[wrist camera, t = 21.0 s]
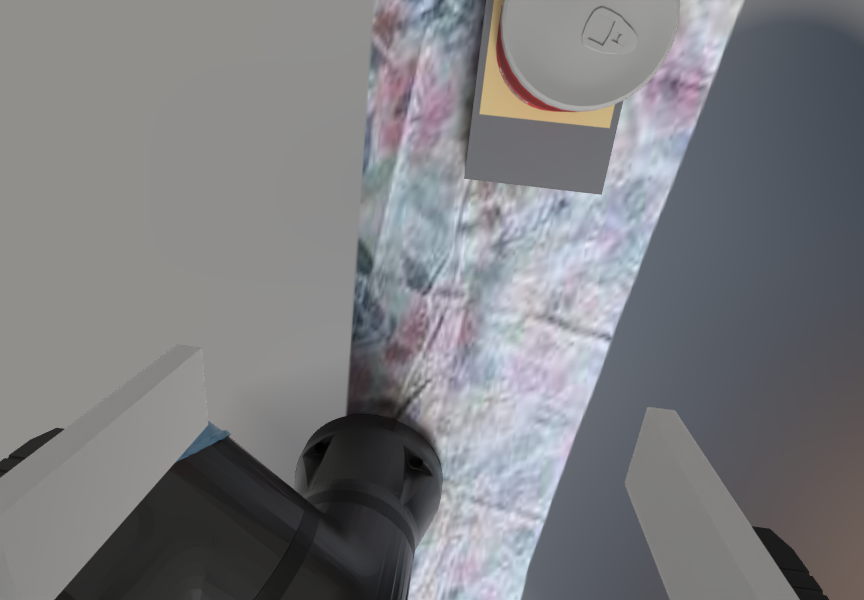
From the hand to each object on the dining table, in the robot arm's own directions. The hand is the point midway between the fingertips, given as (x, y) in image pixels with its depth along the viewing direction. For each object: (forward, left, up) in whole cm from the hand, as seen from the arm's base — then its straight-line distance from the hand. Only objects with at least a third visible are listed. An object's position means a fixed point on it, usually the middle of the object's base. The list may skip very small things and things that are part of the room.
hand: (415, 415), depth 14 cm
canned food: (+13, -5, -25) cm, 28 cm away
